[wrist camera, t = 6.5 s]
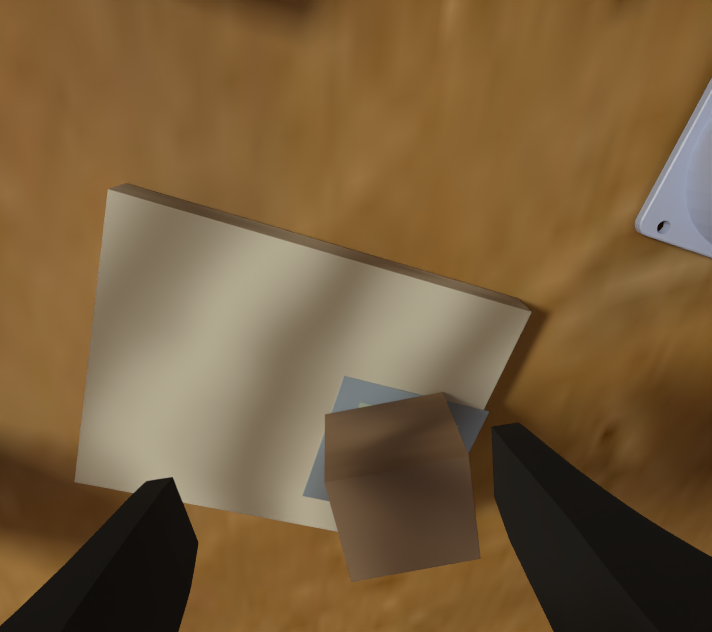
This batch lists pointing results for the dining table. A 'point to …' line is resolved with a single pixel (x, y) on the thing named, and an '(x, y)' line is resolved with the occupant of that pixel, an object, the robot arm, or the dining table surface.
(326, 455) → the walnut block
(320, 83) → the dining table surface
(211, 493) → the base board
